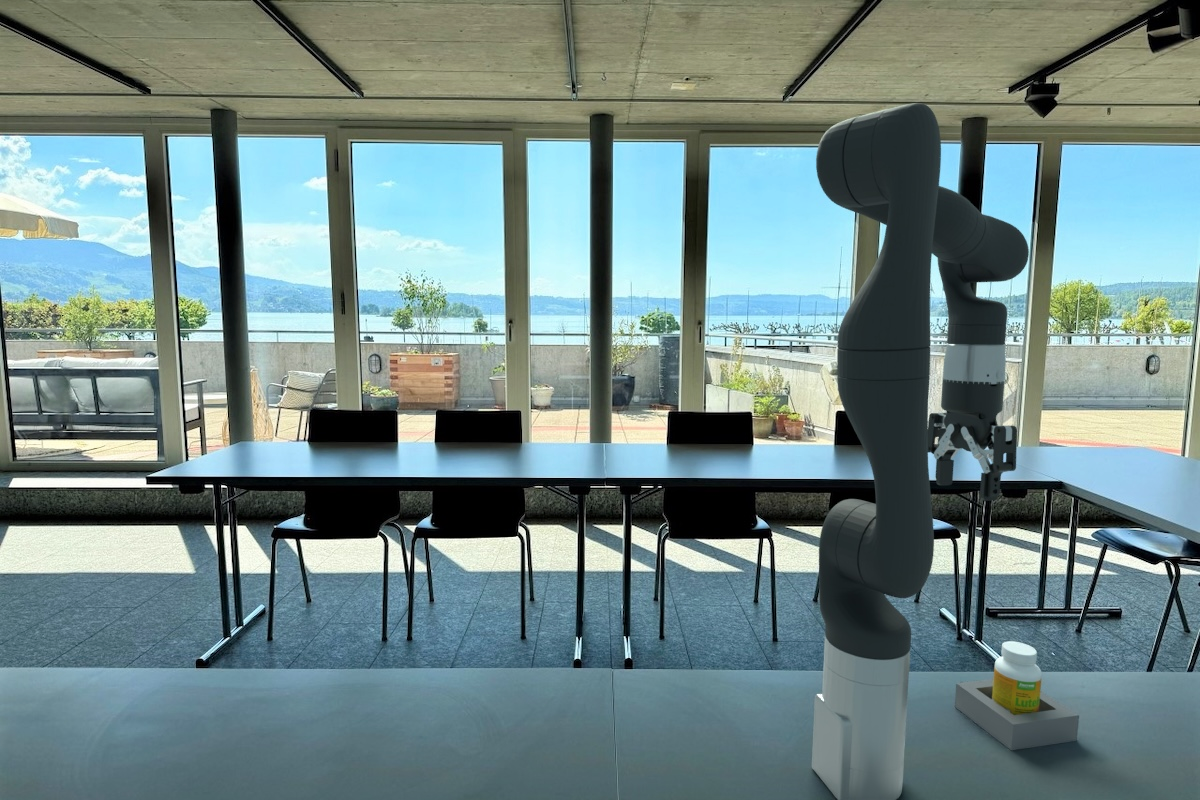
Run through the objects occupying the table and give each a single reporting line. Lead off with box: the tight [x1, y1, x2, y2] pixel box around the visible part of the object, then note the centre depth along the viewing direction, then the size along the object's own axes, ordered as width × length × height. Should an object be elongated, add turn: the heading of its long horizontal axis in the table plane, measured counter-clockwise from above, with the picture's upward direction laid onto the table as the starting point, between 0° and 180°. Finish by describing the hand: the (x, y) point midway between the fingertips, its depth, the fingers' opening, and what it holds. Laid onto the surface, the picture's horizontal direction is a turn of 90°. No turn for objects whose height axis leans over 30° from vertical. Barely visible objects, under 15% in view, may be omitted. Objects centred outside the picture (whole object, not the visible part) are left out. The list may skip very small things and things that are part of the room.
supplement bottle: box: [992, 640, 1043, 715], centre depth 91 cm, size 5×5×10 cm
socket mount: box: [954, 678, 1080, 751], centre depth 92 cm, size 10×10×4 cm
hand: (965, 492), depth 95 cm, fingers open, 8 cm apart
